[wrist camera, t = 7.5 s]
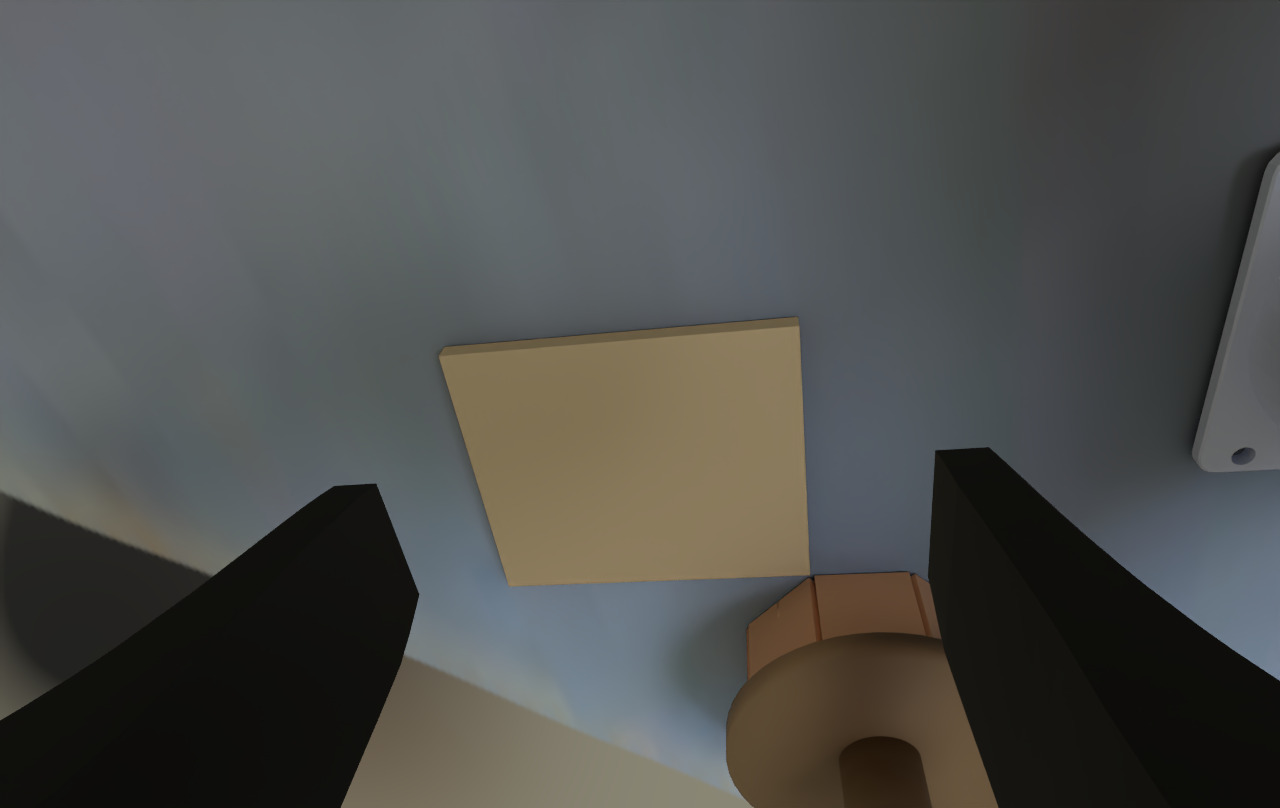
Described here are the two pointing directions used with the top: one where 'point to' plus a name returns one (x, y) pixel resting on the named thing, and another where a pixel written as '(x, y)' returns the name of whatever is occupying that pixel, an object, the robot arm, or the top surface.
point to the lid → (856, 729)
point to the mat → (639, 452)
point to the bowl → (841, 613)
